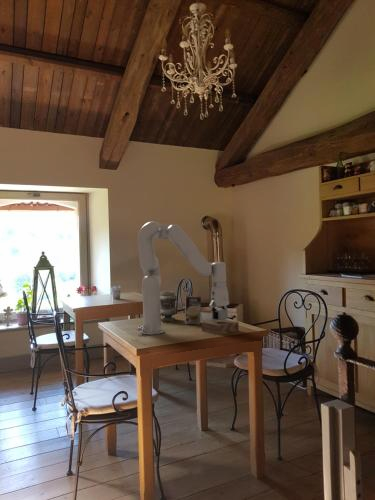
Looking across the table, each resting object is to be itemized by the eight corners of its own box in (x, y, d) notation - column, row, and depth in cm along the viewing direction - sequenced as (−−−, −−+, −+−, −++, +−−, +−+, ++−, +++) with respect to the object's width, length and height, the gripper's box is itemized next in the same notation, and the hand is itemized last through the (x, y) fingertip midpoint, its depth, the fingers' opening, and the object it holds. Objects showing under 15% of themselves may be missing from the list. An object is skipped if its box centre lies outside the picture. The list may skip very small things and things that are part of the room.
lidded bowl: (208, 327, 218) (207, 307, 218) (196, 323, 229) (195, 305, 229) (226, 324, 225) (225, 305, 225) (213, 321, 236) (212, 303, 236)
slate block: (220, 320, 204) (220, 311, 204) (212, 319, 209) (211, 310, 209) (227, 318, 209) (227, 309, 208) (219, 317, 213) (219, 308, 213)
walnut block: (220, 335, 199) (220, 326, 199) (202, 331, 210) (201, 322, 209) (238, 331, 208) (238, 322, 208) (220, 327, 219) (220, 318, 219)
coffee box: (185, 324, 227) (185, 297, 227) (184, 322, 233) (185, 295, 233) (200, 324, 227) (200, 297, 227) (199, 322, 234) (200, 295, 233)
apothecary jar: (162, 318, 250) (162, 290, 250) (180, 318, 246) (179, 290, 246) (155, 321, 238) (154, 292, 238) (173, 322, 235) (173, 292, 235)
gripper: (213, 286, 200) (214, 321, 200) (234, 284, 212) (235, 316, 212) (203, 286, 205) (203, 319, 205) (224, 283, 217) (224, 315, 217)
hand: (219, 317), depth 209 cm, fingers closed on slate block, 5 cm apart
